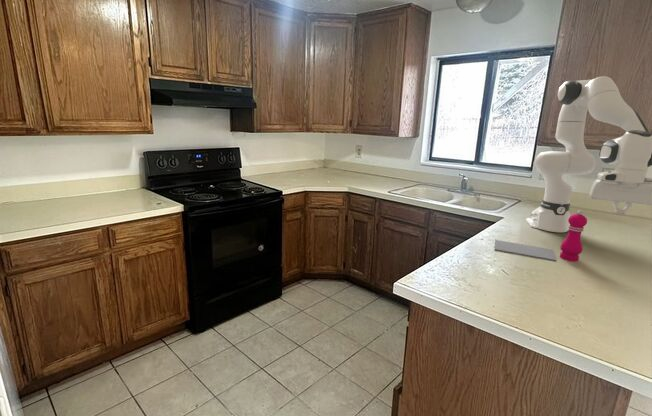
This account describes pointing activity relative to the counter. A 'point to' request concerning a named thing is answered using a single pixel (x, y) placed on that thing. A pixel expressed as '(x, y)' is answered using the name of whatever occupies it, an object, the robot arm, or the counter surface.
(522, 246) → the mat
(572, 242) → the pepper mill
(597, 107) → the robot arm
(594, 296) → the counter surface
